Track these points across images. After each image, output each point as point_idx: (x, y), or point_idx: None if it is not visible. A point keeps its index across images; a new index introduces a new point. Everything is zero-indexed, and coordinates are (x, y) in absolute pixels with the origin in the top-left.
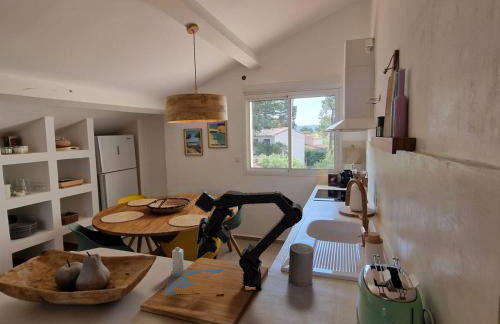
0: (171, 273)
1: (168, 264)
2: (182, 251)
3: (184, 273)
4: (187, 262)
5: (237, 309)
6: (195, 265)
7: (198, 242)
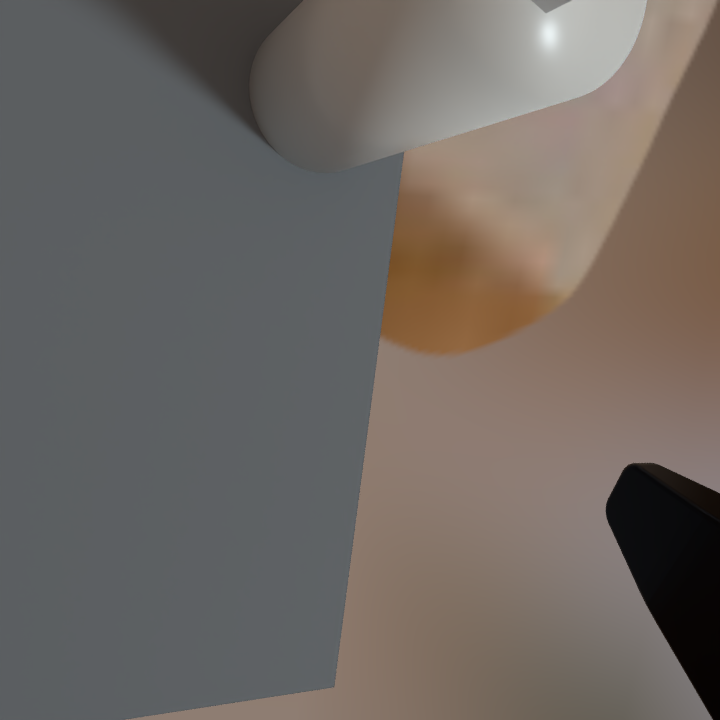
0: None
1: None
2: (497, 74)
3: (317, 185)
4: (580, 238)
5: None
6: (501, 330)
7: (648, 522)
